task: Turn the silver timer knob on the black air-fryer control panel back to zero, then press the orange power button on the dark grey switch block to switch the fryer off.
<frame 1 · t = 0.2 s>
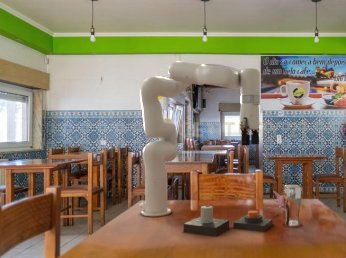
hand: (250, 144, 138), 31 cm above the table, tool pointing down, fingers open, 9 cm apart
power block: (253, 226, 134), on the table
beer glass: (292, 225, 136), on the table
lily: (283, 214, 153), on the table
timer knob: (206, 213, 130), point 6 cm above the table, hinge at 90.0°
power button: (253, 214, 134), point 5 cm above the table, slide at 0.1 cm
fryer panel: (206, 230, 130), on the table
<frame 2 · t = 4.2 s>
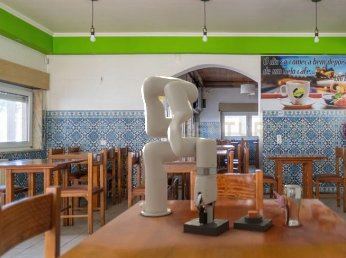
hand: (206, 221, 130), 3 cm above the table, tool pointing down, fingers closed on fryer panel, timer knob, 4 cm apart
timer knob: (206, 213, 130), point 6 cm above the table, hinge at 90.0°, touching gripper
everything else where it was.
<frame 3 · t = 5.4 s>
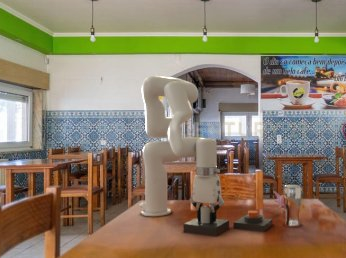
hand: (206, 221, 130), 3 cm above the table, tool pointing down, fingers closed on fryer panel, timer knob, 4 cm apart
timer knob: (206, 213, 130), point 6 cm above the table, hinge at -0.6°, touching gripper
everything else where it was.
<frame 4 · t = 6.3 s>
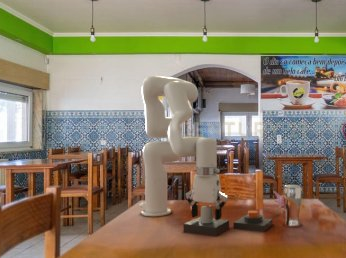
hand: (206, 217, 130), 4 cm above the table, tool pointing down, fingers open, 9 cm apart
timer knob: (206, 213, 130), point 6 cm above the table, hinge at -0.6°
everything else where it was.
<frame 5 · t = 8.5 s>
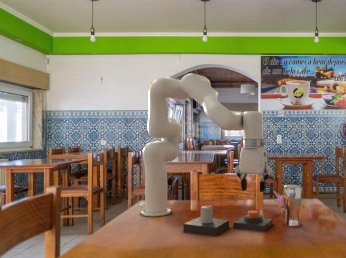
hand: (253, 190, 134), 14 cm above the table, tool pointing down, fingers open, 6 cm apart
nothing on the table moved.
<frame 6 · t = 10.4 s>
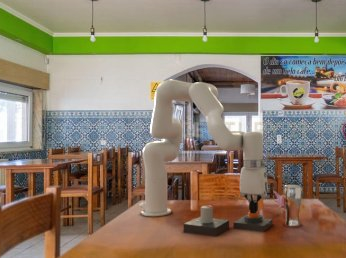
hand: (253, 212, 134), 5 cm above the table, tool pointing down, fingers closed
power button: (253, 215, 134), point 4 cm above the table, slide at -0.2 cm, touching gripper
everything else where it was.
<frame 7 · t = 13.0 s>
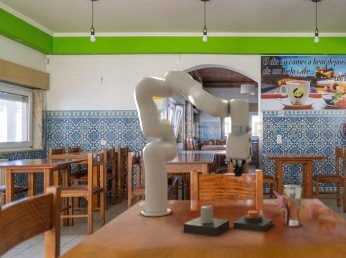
hand: (238, 176, 140), 18 cm above the table, tool pointing down, fingers closed
power button: (253, 214, 134), point 5 cm above the table, slide at 0.1 cm
everything else where it was.
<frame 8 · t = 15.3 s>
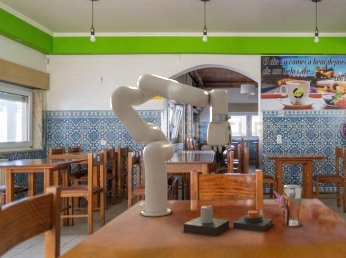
hand: (219, 161, 150), 23 cm above the table, tool pointing down, fingers closed
nothing on the table moved.
at the end: timer knob at -1° (first picture: +90°); power button pushed in 1.1 cm at the most during the clip and back out by the end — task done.
